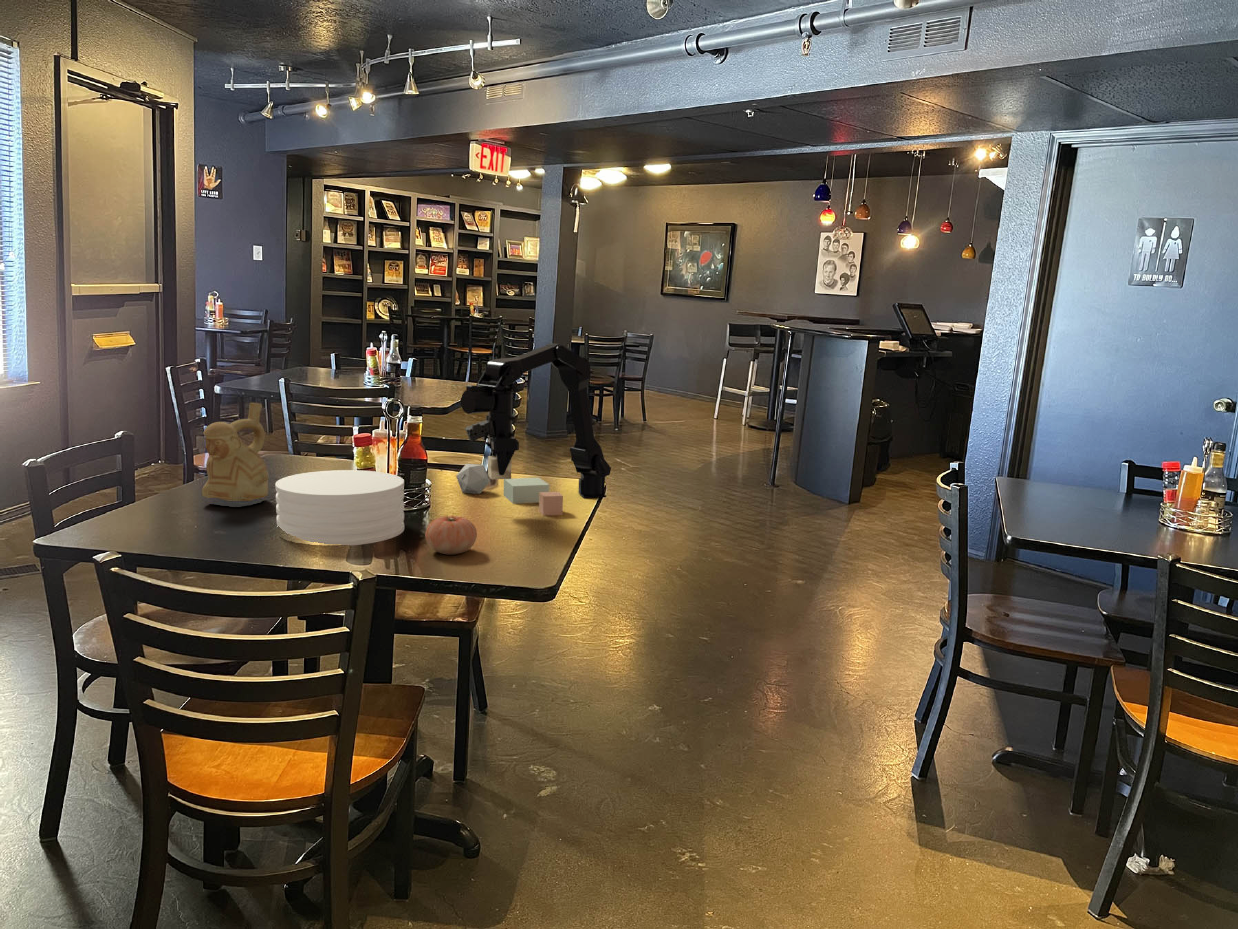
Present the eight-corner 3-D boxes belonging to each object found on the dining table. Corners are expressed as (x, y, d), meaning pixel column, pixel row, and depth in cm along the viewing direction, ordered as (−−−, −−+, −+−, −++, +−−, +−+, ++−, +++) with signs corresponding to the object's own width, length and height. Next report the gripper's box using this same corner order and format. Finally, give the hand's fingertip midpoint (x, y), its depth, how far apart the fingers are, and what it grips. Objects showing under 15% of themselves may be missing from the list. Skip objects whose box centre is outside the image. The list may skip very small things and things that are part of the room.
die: (455, 491, 258) (448, 468, 251) (479, 474, 262) (472, 451, 255) (473, 506, 254) (466, 483, 247) (497, 488, 257) (491, 465, 250)
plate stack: (429, 529, 214) (429, 481, 212) (331, 554, 192) (330, 501, 190) (350, 510, 230) (349, 465, 228) (250, 531, 207) (248, 481, 205)
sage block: (538, 495, 256) (538, 477, 255) (548, 502, 247) (549, 484, 246) (503, 496, 252) (503, 478, 251) (512, 504, 243) (513, 486, 242)
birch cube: (507, 475, 233) (507, 455, 232) (511, 478, 228) (511, 459, 227) (488, 475, 231) (488, 456, 230) (491, 479, 226) (491, 459, 226)
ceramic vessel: (183, 507, 226) (178, 406, 222) (239, 492, 244) (235, 399, 240) (240, 514, 221) (236, 411, 216) (293, 498, 239) (290, 403, 235)
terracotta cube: (557, 510, 237) (558, 491, 236) (562, 515, 233) (562, 495, 232) (538, 511, 236) (539, 492, 235) (543, 515, 231) (543, 496, 230)
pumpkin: (421, 547, 199) (421, 511, 197) (470, 544, 203) (471, 509, 201) (430, 561, 189) (430, 523, 187) (481, 557, 193) (482, 520, 191)
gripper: (462, 406, 233) (462, 466, 236) (473, 416, 215) (472, 481, 218) (506, 406, 236) (505, 466, 239) (520, 416, 219) (518, 480, 222)
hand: (499, 473), depth 229 cm, fingers closed on birch cube, 5 cm apart
